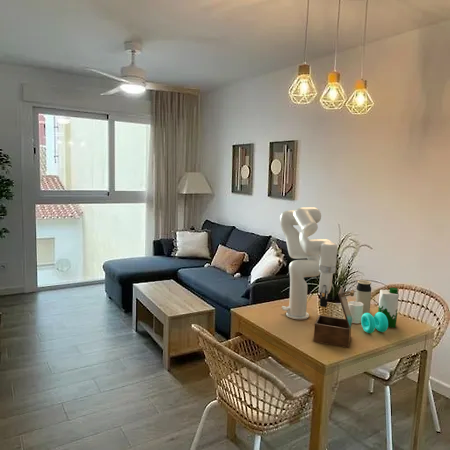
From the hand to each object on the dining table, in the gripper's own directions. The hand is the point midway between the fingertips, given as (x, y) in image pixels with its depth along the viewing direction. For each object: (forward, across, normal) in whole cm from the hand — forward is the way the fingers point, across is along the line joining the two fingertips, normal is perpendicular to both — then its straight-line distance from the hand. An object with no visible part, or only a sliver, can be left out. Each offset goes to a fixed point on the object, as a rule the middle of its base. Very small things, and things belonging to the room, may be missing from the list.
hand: (324, 303), depth 186 cm
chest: (+17, +1, +5) cm, 18 cm away
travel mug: (+18, -45, +16) cm, 51 cm away
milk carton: (+18, -30, +29) cm, 45 cm away
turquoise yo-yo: (+17, -17, +23) cm, 33 cm away
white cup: (+18, -28, +13) cm, 36 cm away
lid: (0, +1, +9) cm, 9 cm away
